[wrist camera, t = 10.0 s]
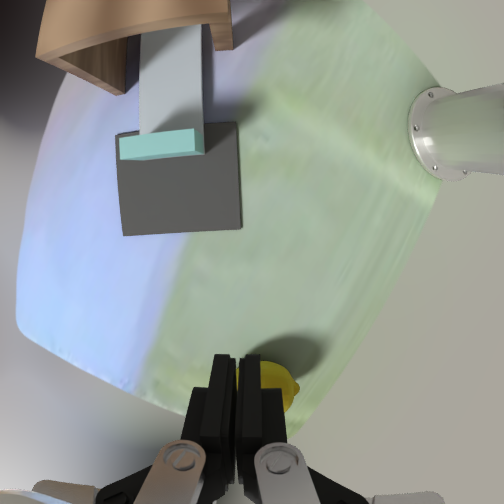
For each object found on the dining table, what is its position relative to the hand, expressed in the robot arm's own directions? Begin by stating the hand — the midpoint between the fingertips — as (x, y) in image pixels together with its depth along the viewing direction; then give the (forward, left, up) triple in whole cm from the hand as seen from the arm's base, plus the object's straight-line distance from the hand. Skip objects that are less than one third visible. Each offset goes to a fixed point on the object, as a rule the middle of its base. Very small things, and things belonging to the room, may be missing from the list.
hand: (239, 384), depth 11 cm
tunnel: (+7, -23, -25) cm, 35 cm away
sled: (+7, -21, -25) cm, 33 cm away
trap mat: (+7, -7, -25) cm, 27 cm away
